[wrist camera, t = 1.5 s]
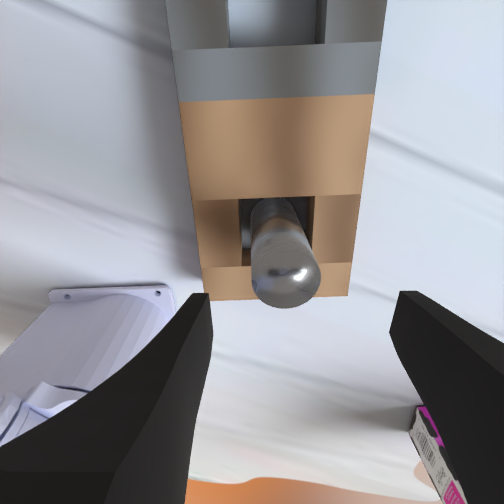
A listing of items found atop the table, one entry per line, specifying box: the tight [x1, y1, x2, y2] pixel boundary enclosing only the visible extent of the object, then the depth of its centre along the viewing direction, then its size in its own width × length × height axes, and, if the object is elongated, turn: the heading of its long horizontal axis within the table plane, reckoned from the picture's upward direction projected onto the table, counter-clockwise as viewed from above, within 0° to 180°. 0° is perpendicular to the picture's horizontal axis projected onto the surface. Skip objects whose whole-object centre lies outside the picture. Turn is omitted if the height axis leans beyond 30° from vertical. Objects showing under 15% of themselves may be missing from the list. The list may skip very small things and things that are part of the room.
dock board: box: [165, 0, 387, 301], centre depth 17 cm, size 10×22×2 cm, turn 2°
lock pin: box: [251, 197, 321, 308], centre depth 17 cm, size 3×3×8 cm
